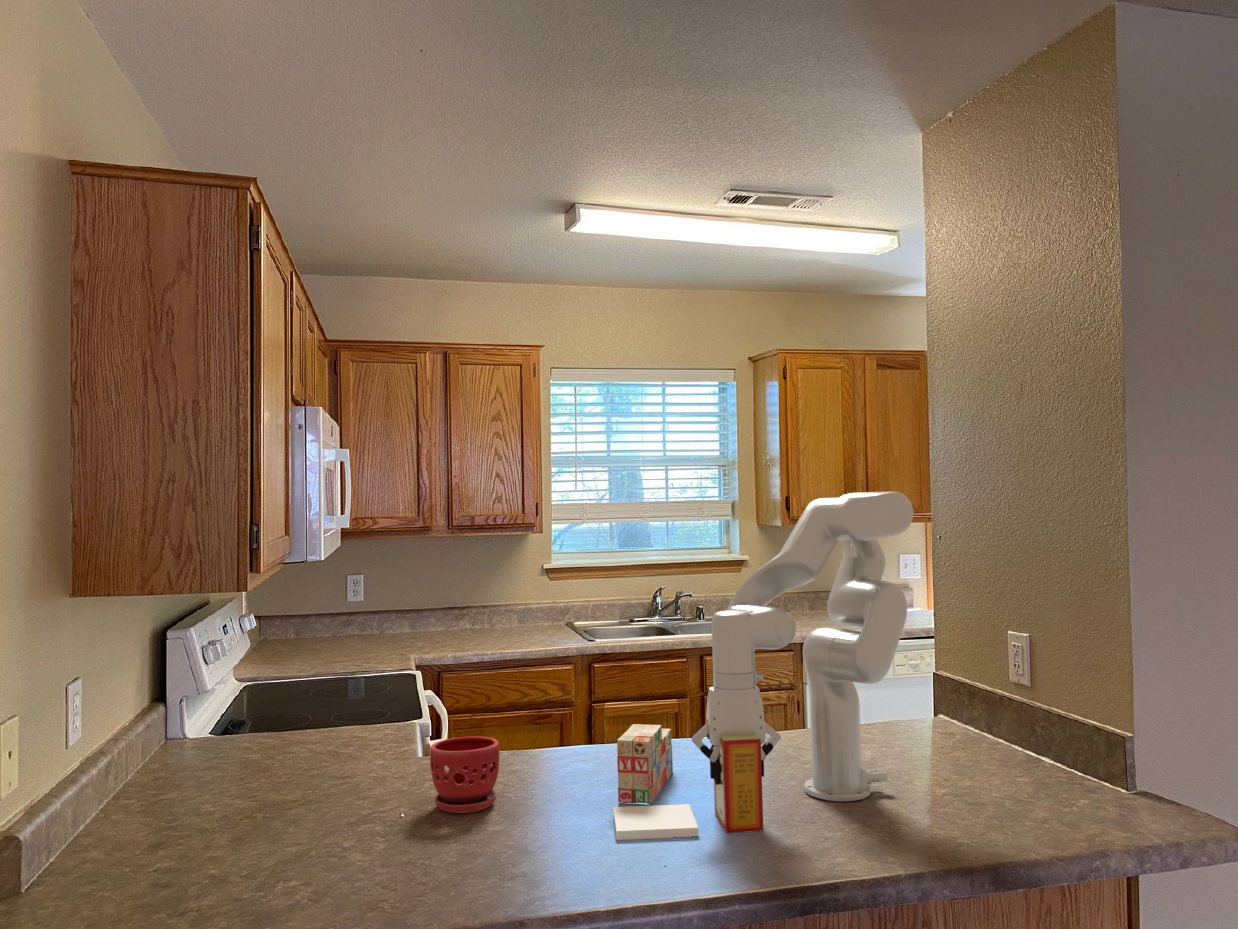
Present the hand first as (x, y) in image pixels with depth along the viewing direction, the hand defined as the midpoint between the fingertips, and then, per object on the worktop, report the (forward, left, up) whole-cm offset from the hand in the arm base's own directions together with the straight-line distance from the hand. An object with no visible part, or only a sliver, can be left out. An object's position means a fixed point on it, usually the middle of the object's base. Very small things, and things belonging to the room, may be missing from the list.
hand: (737, 780), depth 160 cm
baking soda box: (0, 0, -7) cm, 7 cm away
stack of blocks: (+15, -22, -8) cm, 27 cm away
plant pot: (+50, -15, -7) cm, 53 cm away
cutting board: (+15, 0, -7) cm, 17 cm away
